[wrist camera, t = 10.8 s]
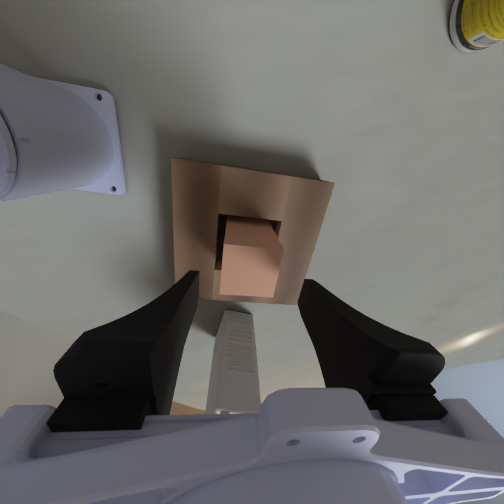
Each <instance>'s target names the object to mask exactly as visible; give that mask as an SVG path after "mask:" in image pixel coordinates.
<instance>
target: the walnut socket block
mask: <svg viewBox="0 0 504 504" xmlns="http://www.w3.org/2000/svg"><path fill="white" fill-rule="evenodd" d="M171 182H172V211H173V240H174V269H175V283H177V282H178V281H179V280H180V279H181V278H182V277H183V276H184V275H185V274H186V273H187V272H188V271H189V270H196V271H200V274H199V298H198V299H202V300H220V301H237V302H254V303H271V304H288V305H297V301H298V298H299V295H300V292H301V288H302V285H303V282H304V279H305V276H306V273H307V270H308V267H309V264H310V260H311V257H312V254H313V251H314V247H315V244H316V241H317V238H318V235H319V231H320V228H321V225H322V222H323V219H324V215H325V212H326V209H327V206H328V203H329V199H330V196H331V193H332V190H333V186H334V183H332V182H328V181H324V180H319V179H313V178H306V177H300V176H293V175H287V174H280V173H274V172H267V171H261V170H254V169H248V168H241V167H235V166H228V165H222V164H215V163H209V162H202V161H196V160H189V159H183V158H171ZM220 214H226V215H235V216H243V217H252V218H260V219H268V220H274V225H273V230H274V232H275V234H276V235H277V237H278V239H279V241H280V243H281V245H282V247H283V248H284V254H283V258H282V262H281V266H280V270H279V275H278V279H277V283H276V287H275V291H274V295H273V298H272V297H256V296H240V295H224V294H220V282H221V271H222V259H223V257H217V247H218V233H219V219H220Z"/></svg>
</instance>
